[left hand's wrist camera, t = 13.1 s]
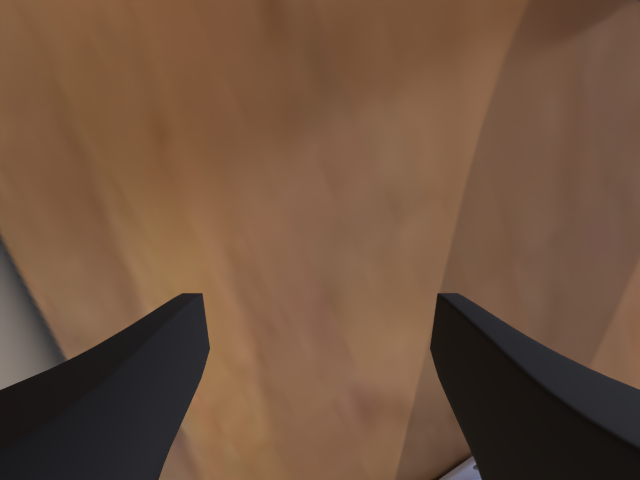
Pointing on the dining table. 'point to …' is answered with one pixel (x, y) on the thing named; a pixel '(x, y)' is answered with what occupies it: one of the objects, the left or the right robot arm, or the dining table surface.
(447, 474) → the right robot arm
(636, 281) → the dining table surface
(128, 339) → the left robot arm
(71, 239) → the dining table surface
